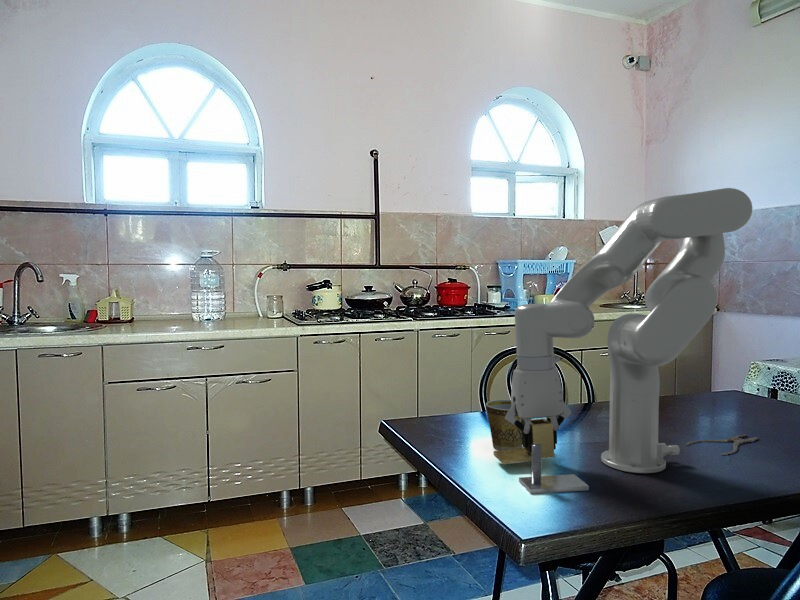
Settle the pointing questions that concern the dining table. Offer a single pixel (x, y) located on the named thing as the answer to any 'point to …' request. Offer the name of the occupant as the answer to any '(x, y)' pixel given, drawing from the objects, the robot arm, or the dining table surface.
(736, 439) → the pliers
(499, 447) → the ceramic cup
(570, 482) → the steel leaf with pin
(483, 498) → the dining table surface
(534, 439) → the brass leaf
